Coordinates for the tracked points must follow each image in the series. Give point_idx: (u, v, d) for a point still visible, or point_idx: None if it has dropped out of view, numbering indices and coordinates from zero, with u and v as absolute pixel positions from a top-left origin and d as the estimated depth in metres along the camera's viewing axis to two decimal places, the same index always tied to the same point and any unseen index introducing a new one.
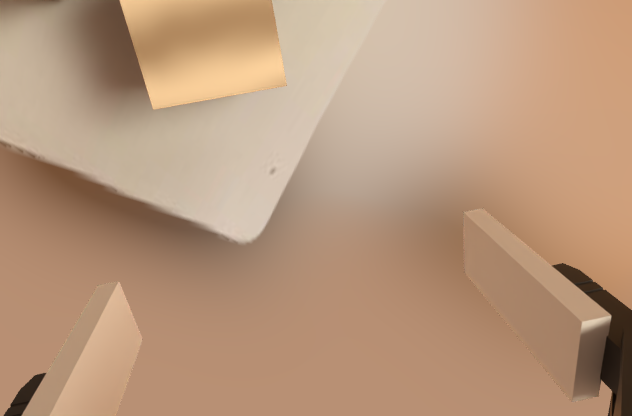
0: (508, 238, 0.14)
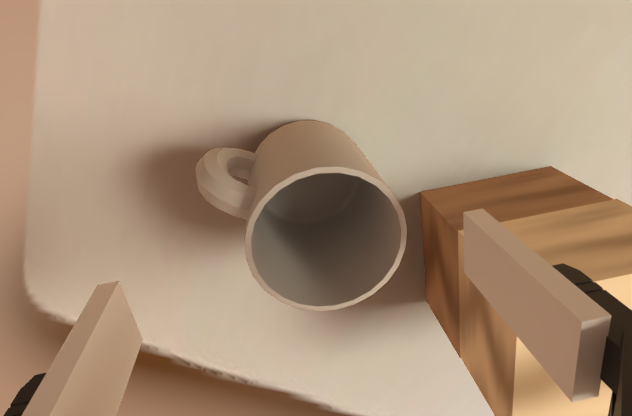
0: (508, 238, 0.14)
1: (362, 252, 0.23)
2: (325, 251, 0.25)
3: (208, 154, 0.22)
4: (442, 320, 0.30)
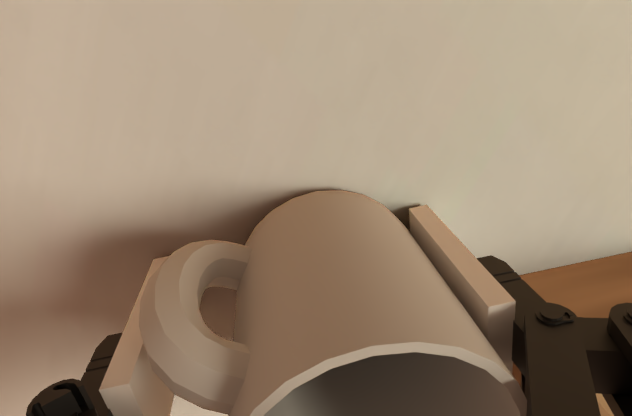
0: (443, 232, 0.15)
1: None
2: (358, 397, 0.16)
3: (166, 269, 0.12)
4: None
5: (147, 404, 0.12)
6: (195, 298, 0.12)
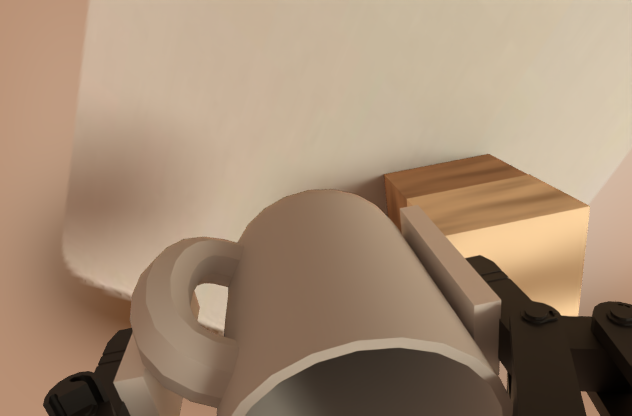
0: (432, 232, 0.15)
1: (411, 414, 0.14)
2: (348, 394, 0.16)
3: (158, 265, 0.13)
4: None
5: (159, 397, 0.12)
6: (186, 294, 0.12)
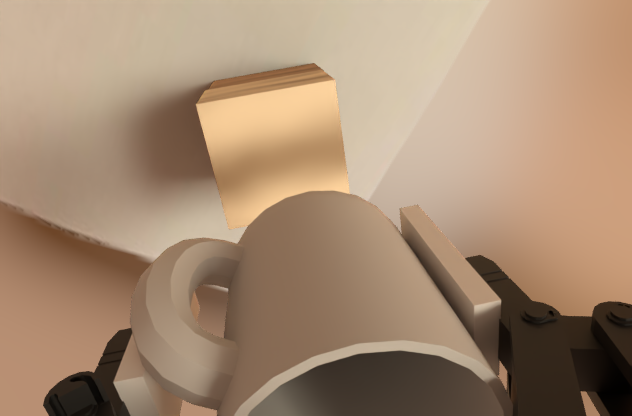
0: (432, 232, 0.15)
1: None
2: (348, 396, 0.16)
3: (158, 266, 0.13)
4: None
5: (159, 397, 0.12)
6: (186, 295, 0.12)
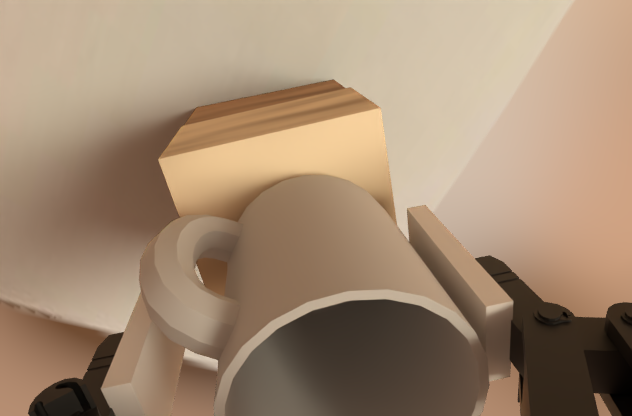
0: (441, 232, 0.15)
1: (397, 383, 0.15)
2: (338, 368, 0.17)
3: (165, 234, 0.14)
4: None
5: (149, 403, 0.12)
6: (191, 259, 0.13)
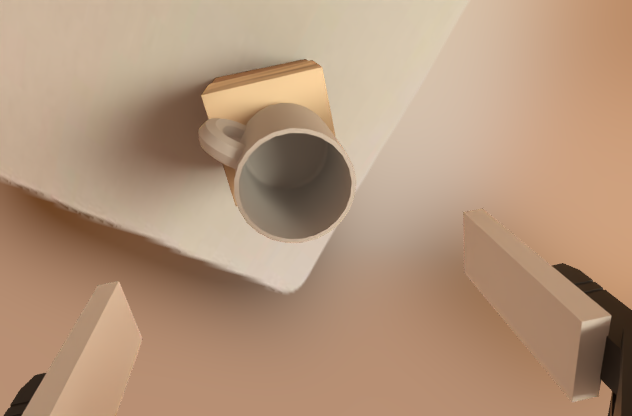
0: (508, 238, 0.14)
1: (325, 205, 0.30)
2: (297, 206, 0.32)
3: (209, 120, 0.28)
4: None
5: None
6: (222, 130, 0.27)
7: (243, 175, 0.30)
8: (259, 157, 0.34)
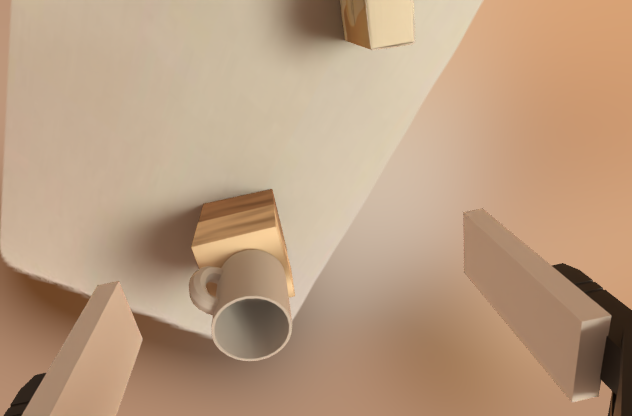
0: (508, 238, 0.14)
1: (276, 327, 0.43)
2: (258, 324, 0.45)
3: (196, 275, 0.42)
4: None
5: None
6: (204, 284, 0.41)
7: None
8: None
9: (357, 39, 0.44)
